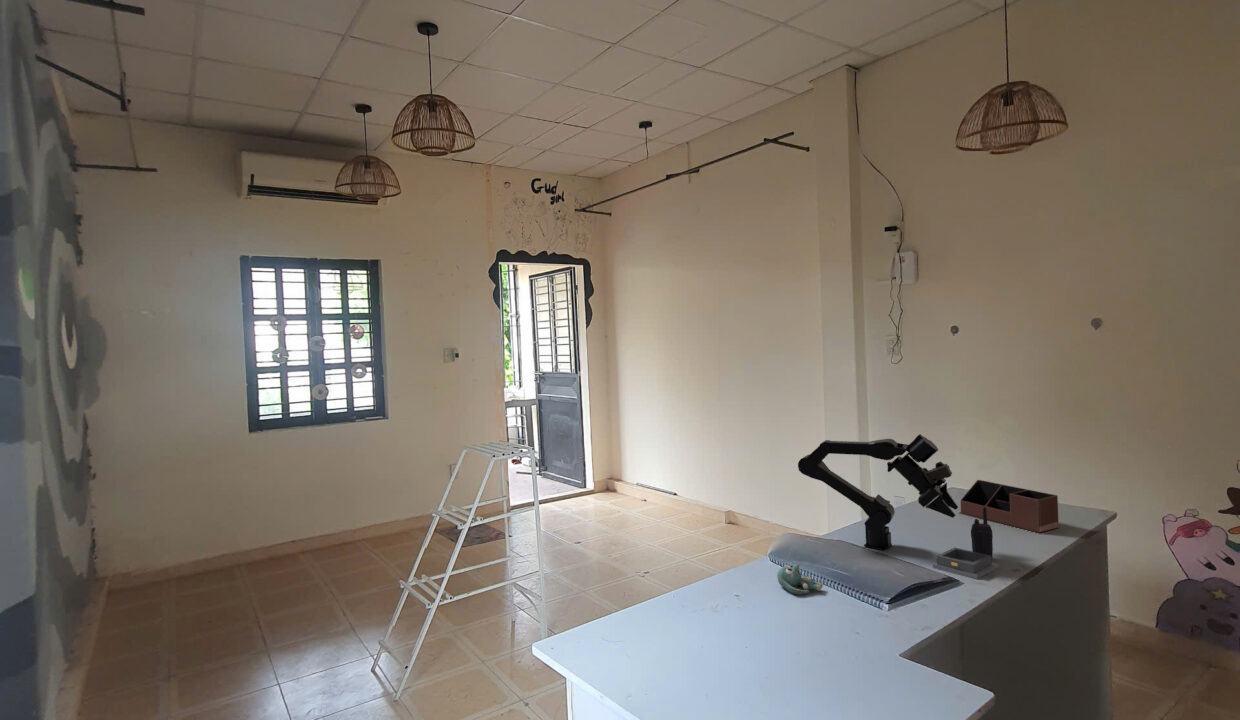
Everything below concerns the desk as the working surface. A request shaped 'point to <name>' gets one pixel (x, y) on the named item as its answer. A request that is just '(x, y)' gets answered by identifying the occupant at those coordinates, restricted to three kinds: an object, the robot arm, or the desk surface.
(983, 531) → the two-way radio
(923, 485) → the robot arm
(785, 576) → the stuffed animal
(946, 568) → the charging cradle
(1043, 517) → the desk organizer
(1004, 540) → the desk surface
